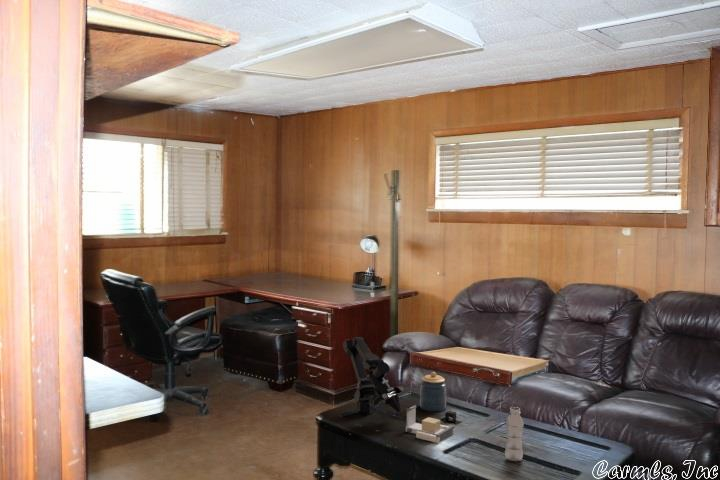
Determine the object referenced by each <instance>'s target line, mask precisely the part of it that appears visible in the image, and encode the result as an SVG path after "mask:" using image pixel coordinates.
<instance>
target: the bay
mask: <svg viewBox="0 0 720 480" xmlns="http://www.w3.org/2000/svg"><path fill="white" fill-rule="evenodd" d="M442 428H443V429H445V430H443V431H442V432H440V433H438V434H436V436H435V435H431V434H427V433H423V432H419V431H417V432H416V434H415V438H417V439H420V440H425V441H428V442H433V443H436V444H439V443H441V442H442V441H444V440H445V439H447V438H449V437H451V436H453V435H454V434H455V425H450V426H448V425H443V424H440V429H442Z"/></svg>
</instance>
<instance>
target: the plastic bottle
mask: <svg viewBox="0 0 720 480" xmlns="http://www.w3.org/2000/svg"><path fill="white" fill-rule="evenodd" d="M505 422H506V424H505V425H506V446H505V452H504V454H505V458H506V459H507V460H508V461H512V462H519V461H522V460H523V456H524V451H523V443H522V442H523V440H522V439H523V429H524V426H525V425H524V423H525V422H524V419H523V418H522V417H521V408H520V407H517V406H516V407H515V406H512V407H510V408H509V415H508V416H507V418H506V421H505Z"/></svg>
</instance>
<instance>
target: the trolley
mask: <svg viewBox="0 0 720 480" xmlns="http://www.w3.org/2000/svg"><path fill="white" fill-rule="evenodd" d="M416 408H417V405H416V404H414V405H412V406H410V407H408V408H406V410H405V411H406V425H405V432H407V433H409V434H415V435H416V432H417V431H419V432H423V433H427V434H431V435H435V436H436V434H438V433H440V432H442V431H443V430H445V429H443V428H442V429H440V425H441V422H442V421H441V420H440V419H437V418H434V417H429V416H428V417H426V418H424V419H422V420H421V422H416V420H417V419H416V415H417V414H416V413H417V411H416V410H417V409H416Z"/></svg>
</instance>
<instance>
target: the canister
mask: <svg viewBox="0 0 720 480" xmlns="http://www.w3.org/2000/svg"><path fill="white" fill-rule="evenodd" d="M419 385H420V389H419V395H420V396H419V407H420V409H422V410H424V411H428V412H441V411H444V410H446V407H447V389H446V387H447V385H448V384H447V383H446V378H444V377H443V376H442V375H440V374H439V375H438V374H437V373H436V372H435V371H432V372H430V374H426V375H424V376H422V377H421V381H420V382H419Z"/></svg>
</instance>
